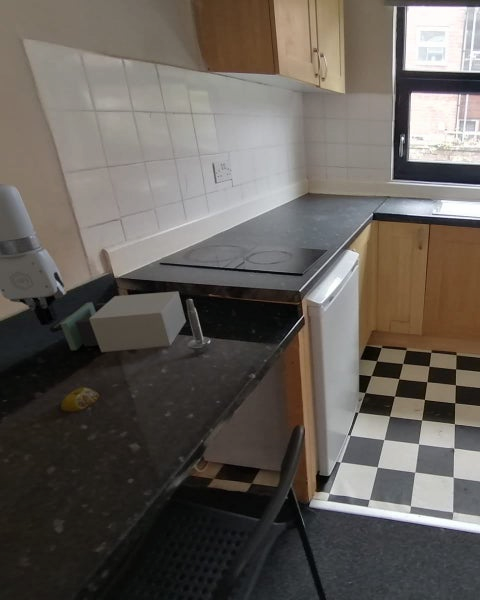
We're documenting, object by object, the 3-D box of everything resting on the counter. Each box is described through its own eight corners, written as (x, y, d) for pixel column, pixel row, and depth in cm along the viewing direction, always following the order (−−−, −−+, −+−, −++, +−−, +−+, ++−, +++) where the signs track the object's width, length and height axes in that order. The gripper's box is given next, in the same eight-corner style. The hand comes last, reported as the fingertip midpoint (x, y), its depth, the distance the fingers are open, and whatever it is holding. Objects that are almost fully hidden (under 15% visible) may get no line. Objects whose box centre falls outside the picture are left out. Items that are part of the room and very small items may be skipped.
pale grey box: (101, 352, 91) (88, 318, 88) (125, 326, 103) (114, 296, 99) (170, 345, 94) (161, 312, 90) (186, 321, 105) (178, 291, 102)
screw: (214, 352, 91) (190, 358, 89) (211, 343, 95) (188, 348, 93) (202, 300, 86) (176, 305, 83) (199, 292, 89) (175, 296, 87)
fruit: (106, 419, 71) (99, 403, 69) (52, 426, 69) (44, 409, 68) (125, 391, 78) (119, 375, 76) (77, 397, 77) (70, 381, 75)
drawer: (49, 352, 90) (37, 325, 87) (76, 328, 100) (67, 304, 97) (136, 344, 93) (127, 318, 90) (154, 322, 103) (147, 297, 100)
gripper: (-39, 253, 81) (1, 333, 88) (45, 248, 83) (77, 326, 91) (-12, 243, 87) (23, 318, 95) (65, 238, 90) (93, 311, 97)
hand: (49, 322), depth 93 cm, fingers closed
